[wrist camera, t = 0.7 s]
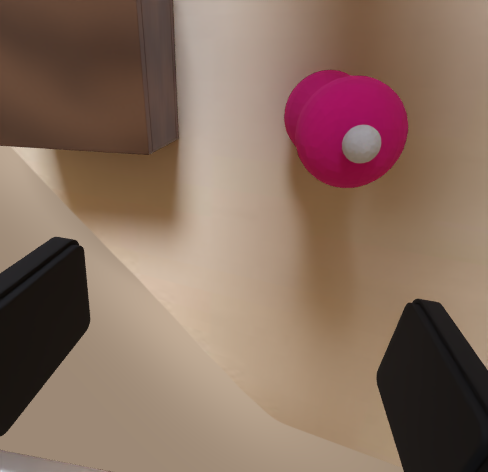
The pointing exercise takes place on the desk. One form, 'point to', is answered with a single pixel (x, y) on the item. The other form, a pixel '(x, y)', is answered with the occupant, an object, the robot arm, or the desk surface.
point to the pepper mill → (346, 127)
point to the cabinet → (88, 75)
